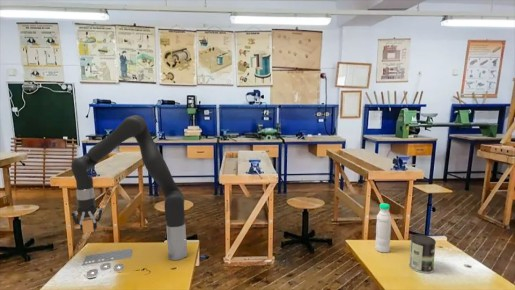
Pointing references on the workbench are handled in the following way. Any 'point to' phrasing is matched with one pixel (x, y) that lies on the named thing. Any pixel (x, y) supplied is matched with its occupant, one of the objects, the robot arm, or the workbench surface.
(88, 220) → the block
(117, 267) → the steel cylinder
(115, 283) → the workbench surface
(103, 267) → the steel cylinder
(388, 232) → the water bottle
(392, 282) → the workbench surface
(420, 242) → the coffee can
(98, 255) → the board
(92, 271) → the steel cylinder
